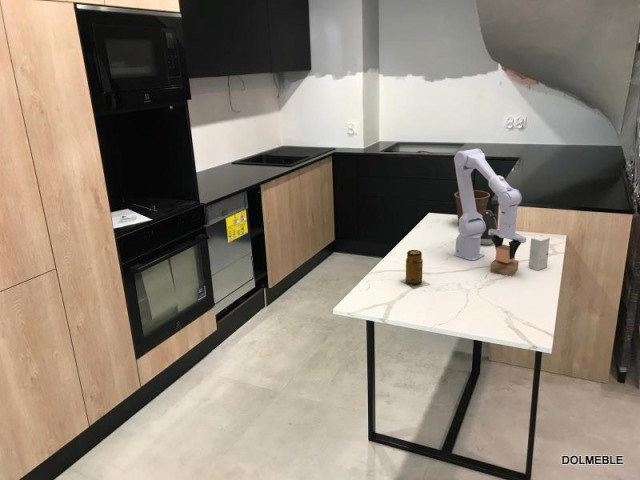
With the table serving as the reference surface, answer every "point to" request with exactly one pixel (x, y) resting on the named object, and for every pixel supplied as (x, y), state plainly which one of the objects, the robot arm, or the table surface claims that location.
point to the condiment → (414, 269)
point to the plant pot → (480, 202)
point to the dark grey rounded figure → (488, 226)
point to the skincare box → (539, 252)
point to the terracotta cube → (503, 254)
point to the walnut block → (504, 267)
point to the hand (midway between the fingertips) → (505, 256)
